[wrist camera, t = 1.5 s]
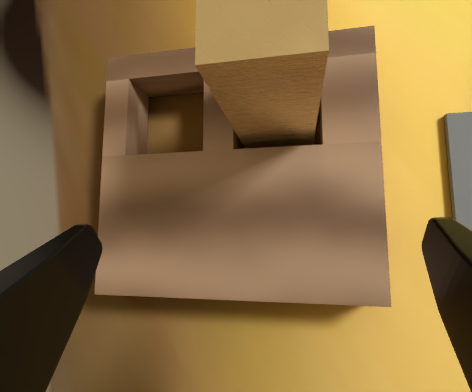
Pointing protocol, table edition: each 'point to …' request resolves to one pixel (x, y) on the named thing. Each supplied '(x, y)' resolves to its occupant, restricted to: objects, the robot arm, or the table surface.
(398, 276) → the table surface
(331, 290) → the two-hole peg block
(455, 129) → the slate mat
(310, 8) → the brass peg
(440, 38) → the table surface
